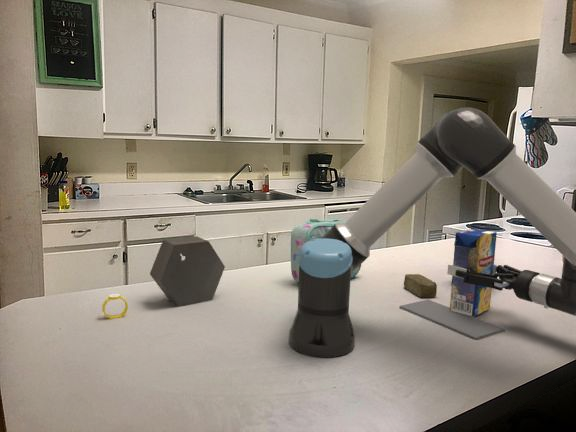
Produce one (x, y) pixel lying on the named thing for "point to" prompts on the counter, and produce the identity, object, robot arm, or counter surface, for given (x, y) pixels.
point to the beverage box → (472, 270)
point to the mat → (453, 319)
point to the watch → (113, 297)
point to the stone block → (420, 285)
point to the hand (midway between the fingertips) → (462, 266)
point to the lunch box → (309, 233)
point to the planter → (187, 270)
